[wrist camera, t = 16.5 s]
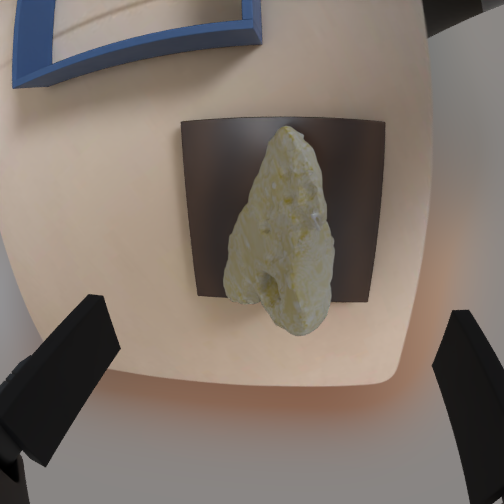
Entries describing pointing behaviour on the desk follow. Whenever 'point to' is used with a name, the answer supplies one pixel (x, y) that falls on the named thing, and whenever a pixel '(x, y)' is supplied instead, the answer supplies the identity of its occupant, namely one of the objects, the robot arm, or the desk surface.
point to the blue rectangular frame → (114, 44)
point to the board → (246, 170)
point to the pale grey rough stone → (284, 239)
